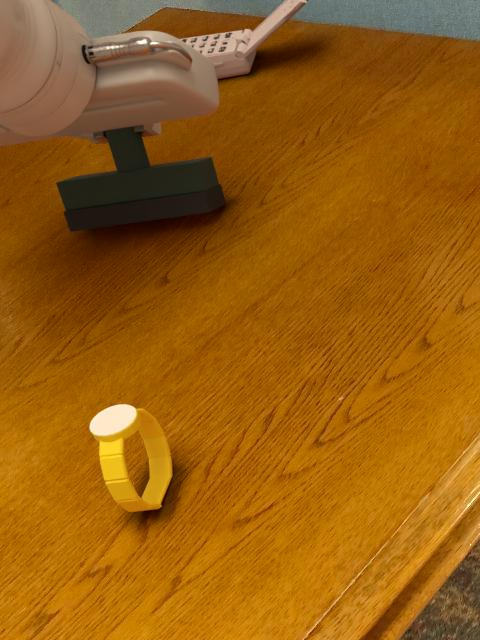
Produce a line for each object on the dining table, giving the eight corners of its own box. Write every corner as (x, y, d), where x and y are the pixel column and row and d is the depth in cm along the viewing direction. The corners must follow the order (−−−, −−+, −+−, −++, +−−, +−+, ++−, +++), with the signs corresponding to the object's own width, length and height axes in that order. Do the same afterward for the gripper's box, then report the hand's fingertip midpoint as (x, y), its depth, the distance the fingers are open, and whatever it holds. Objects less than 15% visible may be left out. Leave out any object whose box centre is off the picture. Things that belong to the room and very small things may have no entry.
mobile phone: (306, 1, 95) (55, 45, 97) (325, 64, 99) (84, 105, 101) (313, -22, 99) (72, 20, 101) (330, 39, 103) (99, 79, 105)
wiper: (69, 232, 81) (14, 72, 76) (92, 222, 85) (40, 69, 79) (210, 212, 80) (163, 48, 75) (226, 203, 84) (183, 46, 78)
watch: (167, 527, 59) (120, 455, 55) (123, 531, 59) (73, 461, 55) (190, 455, 63) (148, 383, 58) (148, 460, 63) (103, 389, 59)
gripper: (162, -12, 65) (247, 70, 79) (-123, 35, 68) (7, 107, 81) (174, 86, 66) (256, 152, 79) (-110, 130, 68) (18, 186, 82)
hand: (128, 130), depth 80 cm, fingers closed on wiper, 2 cm apart
